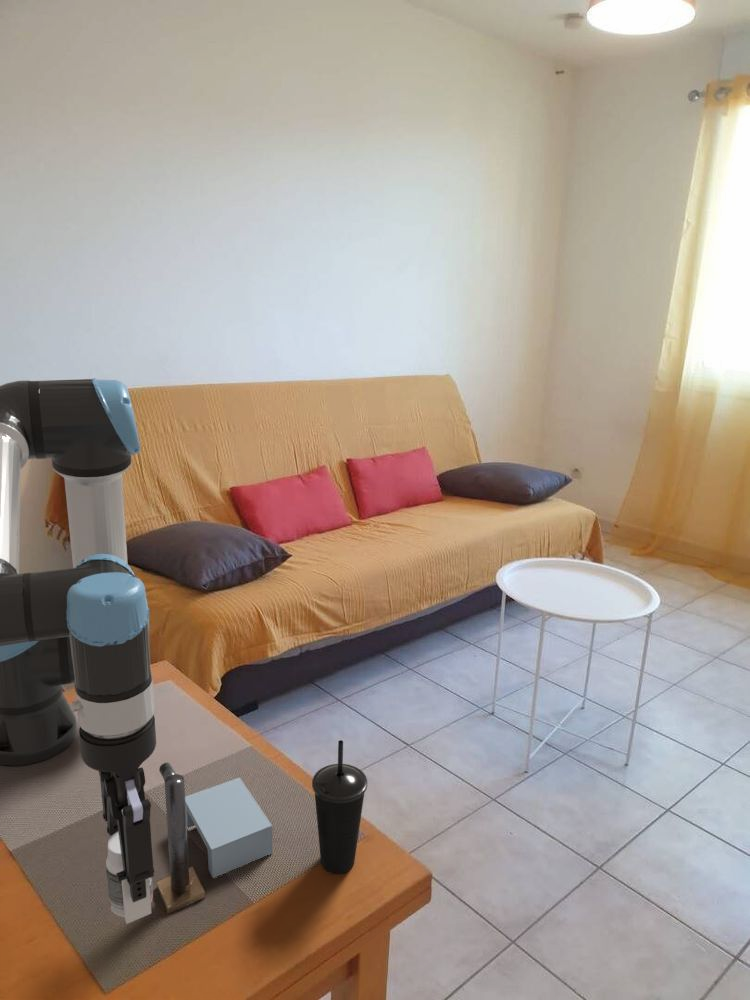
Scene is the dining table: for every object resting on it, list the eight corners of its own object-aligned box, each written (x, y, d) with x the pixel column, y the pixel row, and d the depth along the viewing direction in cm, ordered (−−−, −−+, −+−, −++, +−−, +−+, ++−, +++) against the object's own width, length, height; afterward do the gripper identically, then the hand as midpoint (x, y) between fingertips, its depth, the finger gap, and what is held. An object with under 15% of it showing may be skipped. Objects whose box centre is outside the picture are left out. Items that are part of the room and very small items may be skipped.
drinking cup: (363, 883, 99) (368, 760, 94) (308, 881, 99) (309, 758, 94) (365, 842, 107) (369, 726, 101) (313, 840, 107) (315, 724, 101)
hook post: (153, 879, 99) (145, 769, 93) (189, 865, 101) (183, 756, 96) (168, 913, 94) (160, 798, 88) (205, 897, 96) (200, 785, 91)
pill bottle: (139, 922, 79) (135, 860, 77) (101, 913, 80) (95, 852, 78) (160, 888, 84) (157, 829, 81) (123, 880, 84) (119, 821, 82)
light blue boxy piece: (184, 824, 109) (183, 797, 107) (240, 804, 113) (239, 777, 112) (212, 879, 99) (211, 849, 98) (272, 853, 104) (272, 825, 102)
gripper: (63, 690, 80) (81, 860, 87) (98, 779, 66) (116, 975, 72) (131, 673, 84) (143, 837, 91) (178, 754, 70) (189, 942, 76)
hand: (131, 898), depth 82 cm, fingers closed on pill bottle, 5 cm apart
